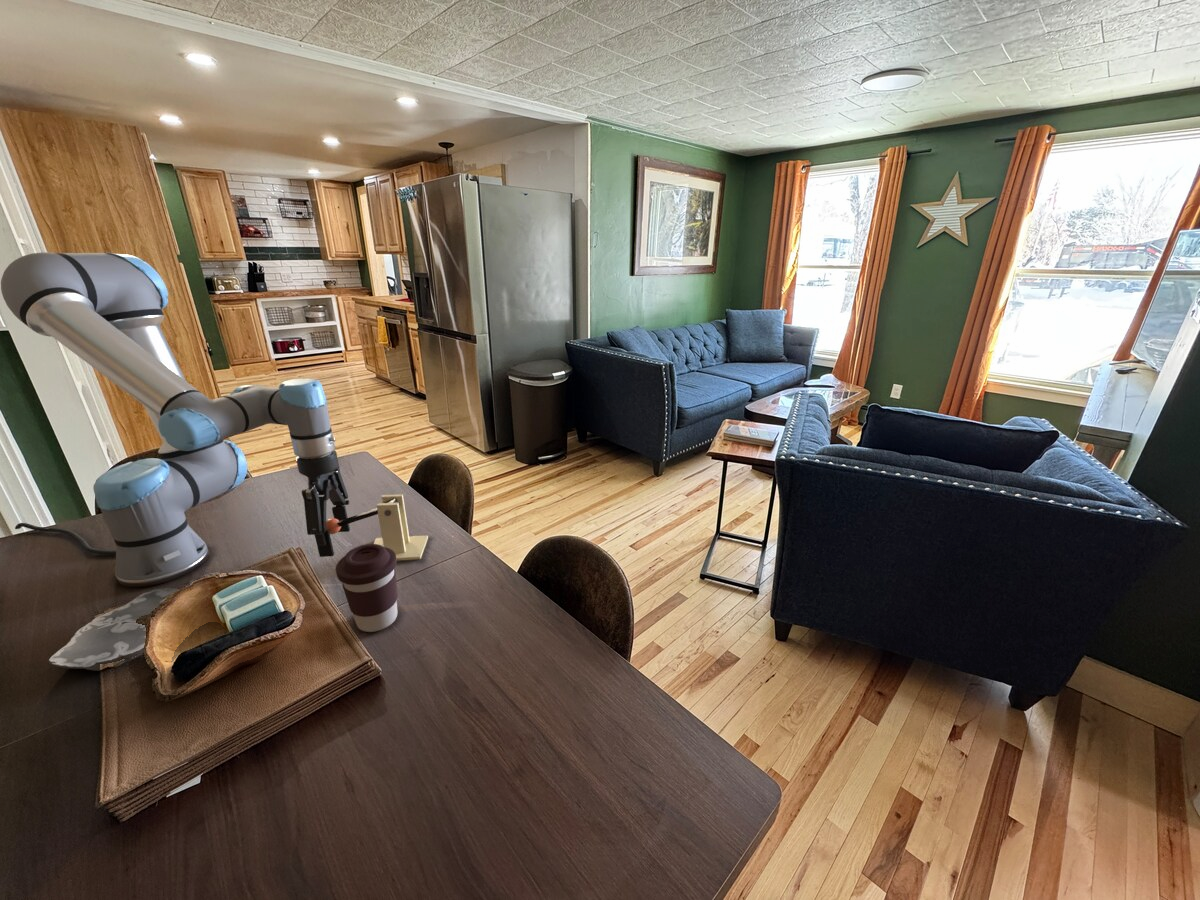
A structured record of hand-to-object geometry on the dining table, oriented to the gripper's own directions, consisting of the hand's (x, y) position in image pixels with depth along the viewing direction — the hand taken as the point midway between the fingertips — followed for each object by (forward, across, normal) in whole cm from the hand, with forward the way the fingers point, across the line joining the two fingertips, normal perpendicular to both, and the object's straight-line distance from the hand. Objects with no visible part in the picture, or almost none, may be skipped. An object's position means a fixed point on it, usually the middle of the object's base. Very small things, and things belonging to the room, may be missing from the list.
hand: (335, 542), depth 108 cm
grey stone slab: (+3, -23, +25) cm, 34 cm away
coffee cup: (+3, -23, -15) cm, 28 cm away
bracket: (+3, 0, -13) cm, 14 cm away
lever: (-5, 0, -7) cm, 8 cm away
